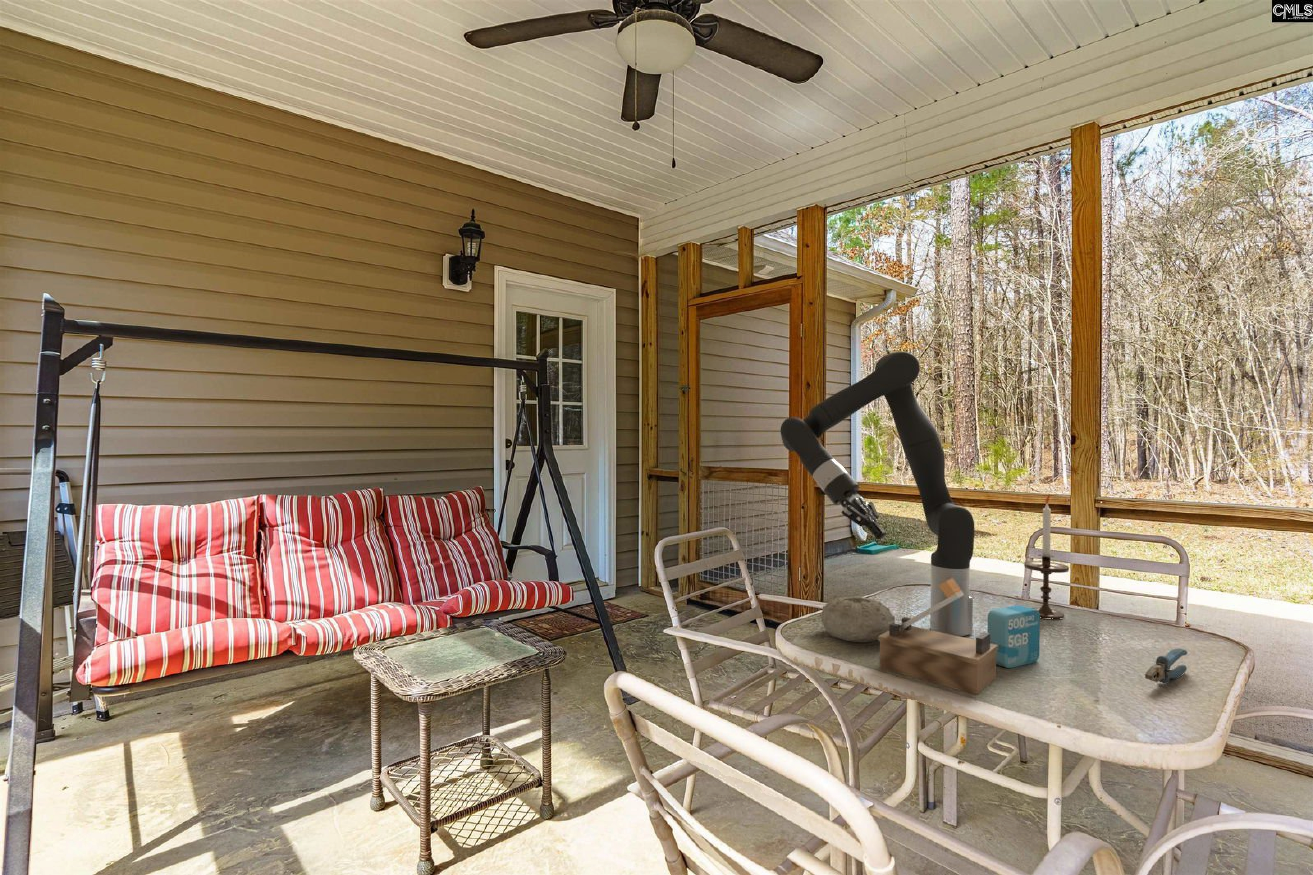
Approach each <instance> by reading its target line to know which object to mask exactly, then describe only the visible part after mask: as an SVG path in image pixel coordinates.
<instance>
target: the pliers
mask: <svg viewBox="0 0 1313 875" xmlns="http://www.w3.org/2000/svg"><path fill="white" fill-rule="evenodd" d="M1186 655H1188V651H1187V649H1184V648H1174V649H1172V650H1170V651H1169V652H1167V653H1166V654H1165V656H1163V655H1159V656H1158V657H1157V658H1156V660H1155V664H1153V665H1151V666H1150V667H1149V668H1148V670H1147V671H1146V673H1144V678H1145V679H1147V680H1149V681H1151V682H1156V683H1161V682H1162V683H1161V684H1167V683H1169V682H1170V679H1177V677H1178V678H1180V677H1182V676H1183V675H1184V674H1185V672H1187V669H1188V667H1187V666H1186V665H1185V664H1183V665H1182V664H1180V665H1177V666H1176V667H1174V668H1173V669H1171V667H1172V666H1173V665H1174V664H1175V663H1176V662H1177V661H1178V660H1179V659H1181V657H1182V656H1183V657H1184V656H1186ZM1183 673H1184V674H1183ZM1182 674H1183V675H1182ZM1181 675H1182V676H1181ZM1179 676H1180V677H1179Z"/></svg>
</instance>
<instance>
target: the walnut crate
mask: <svg viewBox="0 0 1313 875" xmlns="http://www.w3.org/2000/svg"><path fill="white" fill-rule="evenodd" d="M910 619H911V617H910V618H909V617H906V616H903V617H902V618H901V623H904V622H906V621H908V620H910ZM901 623H900V624H901ZM900 624H899V623H896V622H895V623H891V624H890V625H889V631H887V632H885V633H883V634H881V635H879V636H878V640H877V641H878V642H879V668H880V669H882V670H887V671H890V672H894V673H897V674H902V675H904V676H909V677H912V678H917V679H920V680H923V681H926V682H931V683H933V684H937V685H940V686H945V687H949V688H952V689H955V690H960V691H962V692H963V691H964V692H967V693H971V694H973V695H974V694H975V695H979V693H981V692H982V691H983V690H984V689H985V688H987V686H988V685H990V684H991V683H992V682H993V681H994V680H995V679H996V678H997V664H996V651H997V650H998V645H996V644H991V643H990V633H987V632H985V631H983V632H982V633H980V634H979V635H977V636H976V637H975V639H972V638H968V637H964V636H955V635H950V634H946V633H941V632H937V631H932V630H931V629H927V628H923V627H917V626H913V625H912V624H911V625H910V626H908V627H907V628H906V629H904V630H902V631H901V632H900Z"/></svg>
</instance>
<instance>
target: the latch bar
mask: <svg viewBox="0 0 1313 875" xmlns="http://www.w3.org/2000/svg"><path fill="white" fill-rule="evenodd" d="M939 587H940V588H941V590H942V591H943V593H944V594H945V595H946V597H947V599H945V600H943V601H942V602H940V603H938V604H936V605H935V606H933V607H931V608H930V607H929V608H928V609H926V610H924V611H922V612H920V613H919V614H917V615H915V616H914V617H912V618H911V617H910V618H911V619H910V620H908V621H906V622H904V623H902V622H901V623H900V632H901V631H902V630H904V629H906V628H907V627H908V626H910V625H911V626H912V625H913V624H915V623H916V622H918V621H921V620H922V619H924V618H926V617H927V616H930V614H931V613H933V612H935V611H937V610H938V609H940V608H942V607H944V606H945V605H947V604H949V603H951V602H953V601H954V600H956V599H958V598H960V597H962V596H963V595H964V593H963V592H962V590H961V589H960V587H959V586H958V585H957V583H956V582H955V580H954V579H953V578H952V579H950V580H947V581H945V582H944V583H942V584H940V585H939Z"/></svg>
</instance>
